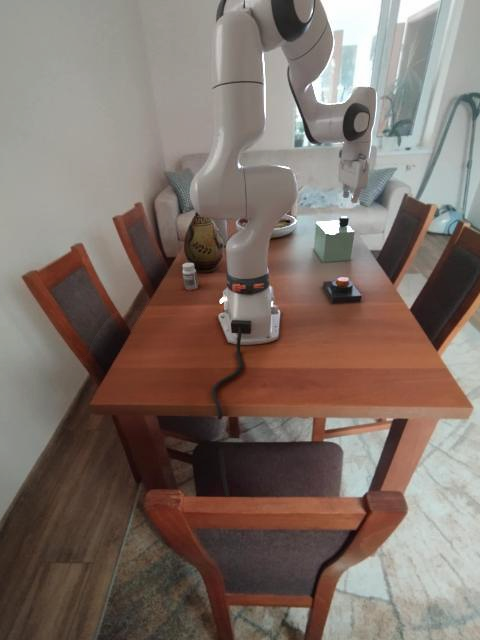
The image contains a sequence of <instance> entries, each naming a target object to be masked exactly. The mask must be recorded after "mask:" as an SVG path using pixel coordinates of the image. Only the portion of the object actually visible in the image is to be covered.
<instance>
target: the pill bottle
mask: <svg viewBox="0 0 480 640" xmlns="http://www.w3.org/2000/svg"><path fill="white" fill-rule="evenodd" d="M182 277H183V282H184V288H185V289H186V290H187V291H194V290H196V289H198V288H199V281H198V275H197V272H196V270H195V269H194V264H193V263H190V262H184V263H183V264H182Z"/></svg>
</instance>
